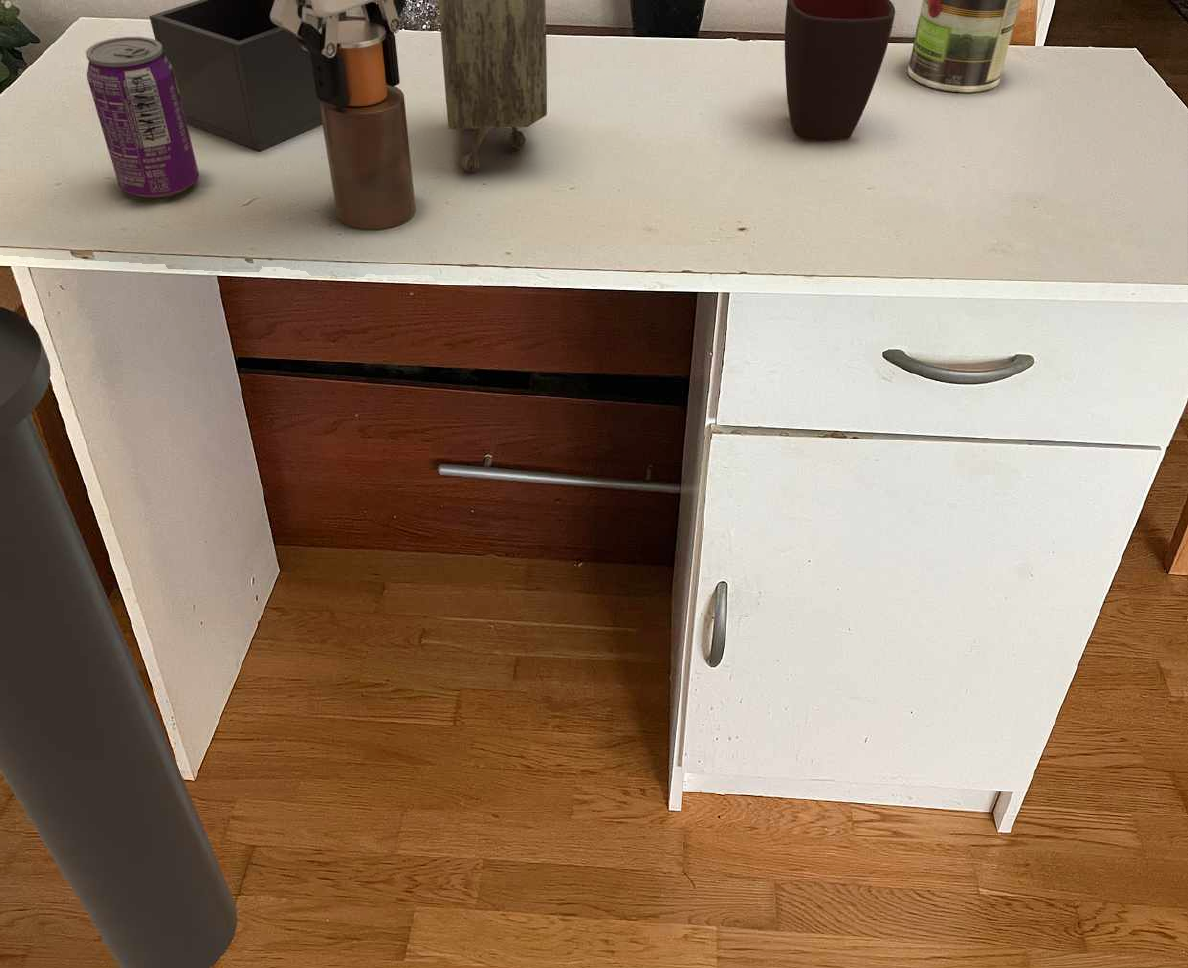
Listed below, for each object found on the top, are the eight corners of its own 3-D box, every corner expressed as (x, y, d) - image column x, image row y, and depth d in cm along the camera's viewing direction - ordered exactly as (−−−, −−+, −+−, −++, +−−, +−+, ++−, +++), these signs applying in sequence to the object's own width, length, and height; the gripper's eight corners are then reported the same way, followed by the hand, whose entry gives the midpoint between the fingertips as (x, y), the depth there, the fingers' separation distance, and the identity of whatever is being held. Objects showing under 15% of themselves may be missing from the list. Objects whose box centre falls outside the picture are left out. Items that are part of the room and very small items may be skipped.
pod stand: (377, 237, 96) (361, 120, 89) (320, 214, 99) (300, 99, 92) (432, 208, 100) (421, 94, 93) (375, 186, 103) (360, 74, 96)
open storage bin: (259, 151, 108) (238, 45, 101) (174, 119, 113) (149, 15, 106) (359, 108, 116) (345, 6, 109) (275, 79, 121) (257, -20, 114)
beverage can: (214, 173, 104) (182, 38, 96) (178, 207, 100) (142, 68, 91) (144, 166, 105) (106, 31, 97) (106, 199, 101) (63, 60, 92)
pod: (359, 113, 90) (351, 48, 86) (312, 97, 92) (302, 33, 88) (406, 93, 93) (399, 30, 89) (359, 78, 95) (351, 15, 92)
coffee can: (947, 99, 120) (981, -47, 110) (888, 67, 126) (915, -74, 116) (1021, 84, 123) (1060, -60, 113) (959, 53, 129) (991, -85, 119)
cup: (780, 151, 110) (798, 20, 101) (759, 96, 120) (773, -27, 111) (880, 150, 110) (905, 20, 102) (850, 96, 120) (871, -27, 111)
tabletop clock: (450, 119, 114) (428, -172, 96) (539, 117, 115) (533, -173, 97) (452, 182, 104) (427, -131, 86) (549, 179, 105) (544, -132, 87)
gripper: (371, -195, 86) (397, 53, 99) (195, -157, 76) (249, 113, 89) (445, -181, 83) (461, 73, 96) (271, -140, 73) (315, 137, 86)
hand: (358, 90), depth 92 cm, fingers closed on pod, 5 cm apart
